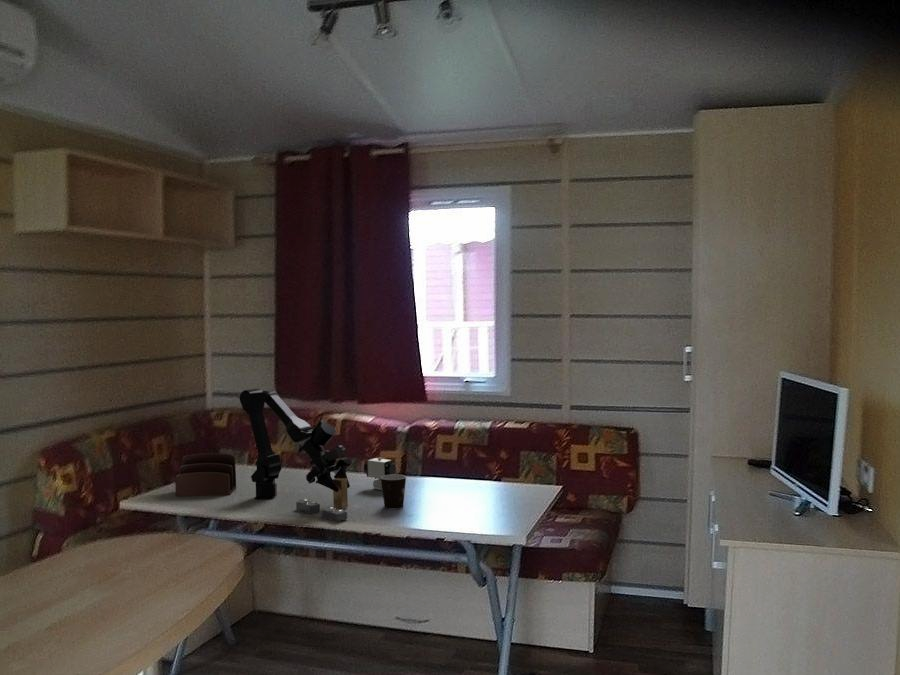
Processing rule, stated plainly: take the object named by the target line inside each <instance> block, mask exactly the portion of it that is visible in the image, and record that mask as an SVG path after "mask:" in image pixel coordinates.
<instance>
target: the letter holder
mask: <svg viewBox="0 0 900 675" xmlns="http://www.w3.org/2000/svg"><path fill="white" fill-rule="evenodd" d="M181 459H182V461H181V463H182V465H181V466H179V467H178V474H176V476H175V477H174V478H175V480H174V482H175V486H174V487H175V491H174V492H175V497H203V496H204V497H206V496H207V497H208V496H209V497H210V496H231V494H233V493H234V492H235V491H236V490H237V472H236V470H237V469H236V456H235V455H233V454H230V453H219V452H218V453H217V452H216V453H214V452H209V453H208V452H203V453H193V454H188V455H187V454H186V455H184V456H183V457H182V458H181Z"/></svg>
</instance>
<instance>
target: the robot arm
mask: <svg viewBox="0 0 900 675" xmlns="http://www.w3.org/2000/svg"><path fill="white" fill-rule="evenodd" d="M238 399H239V402H240V405H241V408H242V410H244V411H245V413H246V414H247V415H248V416H249V421H250V426H251V429H252V433H253V439H254V442H255V446H256V450H257V458H256V463H255V464H256V469H255V471H253V473H252V475H251V476H250V478H251V479H250V480H251V481H252V483H255V497H254V500H272V499H274V498H275V497H276V496H277V495H278V494H277V493H278V490H277V489H278V487H277V486H278V484H277V483H276V479H279V476H280V473H281V471H282V465H283V463H282V461H281V455H280V454H279V453H275V452H274V451H273V449H272V445H271V444H272V443H271V440H270V436H269V431H268V427H267V424H266V420H265V416H264V412H263V411H264V407H265V405H266V406H268V407H269V409H271V410H272V412H273V413H274V414H275V415H276V417H277V418H278V419H279V420H280V421H281V422H282V424H284V426H285V430H286V434H287V435H288V437H289V438H290V440H291V441H292V442H294V443H302V442H303V443H302V444H299V445H298V446H299V447H298V452H297V453H299V454H301V453H305V454H306V455H307V457H308V458H309V459H310V460H311V461H310V462H309V464H310V465H311V466H313V465H314V466H313V467H312V468H311V469H310V470H309V472H308V473H307V474H306V475H305V477H306V478H305V480H306V481H307V482H308V484H310V485H311V484H314V483H315V484H319V485H321V486H324V487H325V488H328V489H329V490H332V491H335V492H338V491H339V489H338V487H337V485H336V484H335V482H334V481H333V478H334V479H336V478H347V489H349V488H350V487H351V486H350V482H349V479H348V476H347V475H348V474H347V469H348V468H349V466H351V464H352V463H353V461H352V460H351V459H350V458H349V457H345V454H346V448H345V447H344V446H343V445H342V444H340V445H337V446H335V448H333V449H331V450H329V449H326V450H325V448H324V446H326V445H327V444H328V443H329V442H330V441H331V439H332V438H333V437H334V436H335V435H336V432H337V431H336V428H335V427H334V426H333V425H331V424H330V423H328V422H326V421H325V420H319V421H318V423H317V424H316V425H315V426H314V427H312V426H311V424H309V423H308V422H306V420H304V419H301V417H300V418H299V417H298V416H297V415H296V414H295V413H294V412H293V411H292V409H290V407H289V406H288V405H287V404H286V403H285V402H284V400H282V398H281V397H280V396H279V394H278V392H277V391H275V390H261V389H260V388H252V389H251V388H250V389H246V390H242V391H241V393H240V394H239V398H238ZM342 457H344V458H342ZM338 459H339V460H338ZM332 472H333V474H334V475H333V478H332V476H331V473H332Z"/></svg>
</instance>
